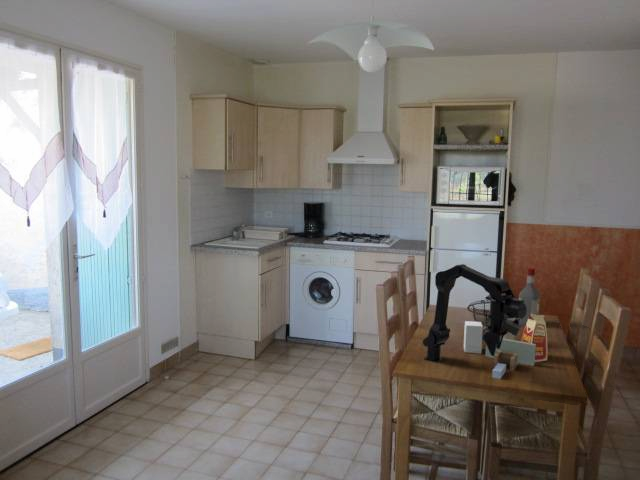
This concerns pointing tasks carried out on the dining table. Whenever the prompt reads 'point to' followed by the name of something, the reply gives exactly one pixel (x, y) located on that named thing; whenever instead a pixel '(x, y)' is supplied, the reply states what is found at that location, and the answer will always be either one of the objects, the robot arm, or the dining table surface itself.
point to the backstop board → (517, 350)
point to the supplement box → (473, 337)
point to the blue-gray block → (499, 370)
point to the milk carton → (536, 336)
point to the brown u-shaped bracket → (506, 359)
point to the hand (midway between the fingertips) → (495, 352)
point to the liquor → (530, 297)
